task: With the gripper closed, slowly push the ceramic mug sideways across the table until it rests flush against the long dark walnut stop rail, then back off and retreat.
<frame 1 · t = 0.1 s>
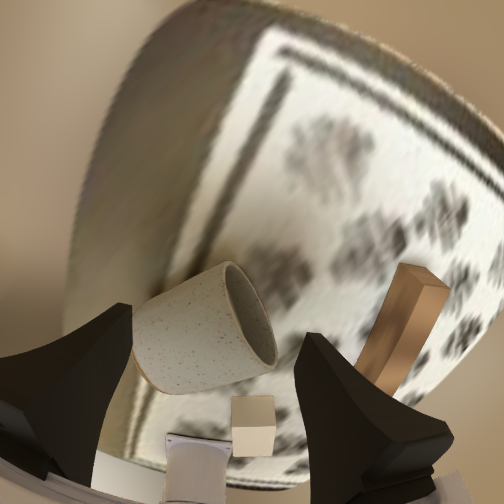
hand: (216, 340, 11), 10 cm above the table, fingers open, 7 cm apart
ceramic mug: (219, 315, 23), on the table
walnut rail: (363, 373, 26), on the table
beige rectangular block: (251, 412, 28), on the table
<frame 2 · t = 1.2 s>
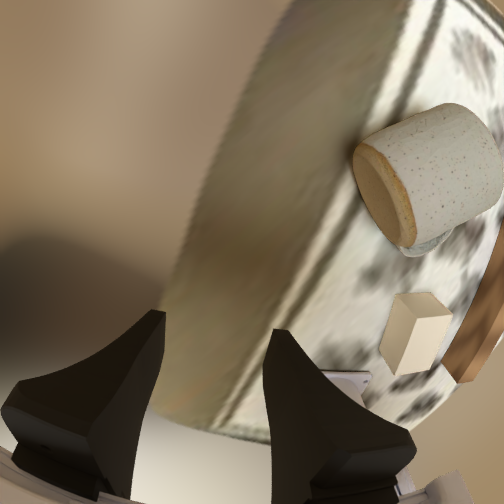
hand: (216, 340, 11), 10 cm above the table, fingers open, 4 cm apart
ceramic mug: (406, 182, 20), on the table
walnut rail: (494, 267, 23), on the table
beige rectangular block: (404, 321, 24), on the table
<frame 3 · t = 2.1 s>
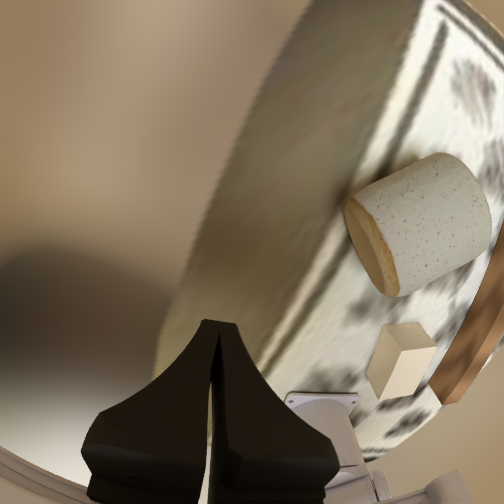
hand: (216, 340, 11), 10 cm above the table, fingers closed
ceramic mug: (397, 225, 21), on the table
walnut rail: (483, 296, 24), on the table
beige rectangular block: (391, 348, 25), on the table
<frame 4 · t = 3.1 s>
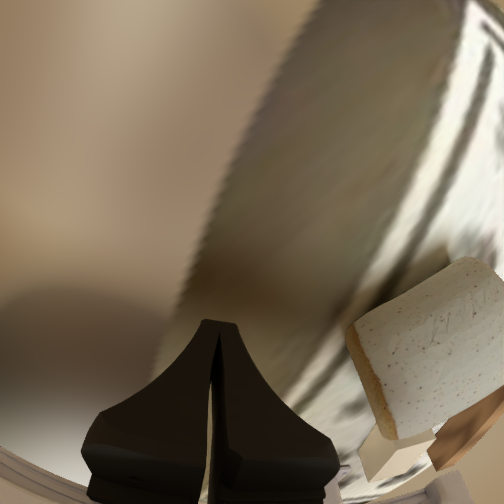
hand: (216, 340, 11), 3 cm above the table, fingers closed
ceramic mug: (409, 326, 16), on the table
walnut rail: (493, 368, 19), on the table
beige rectangular block: (387, 429, 21), on the table
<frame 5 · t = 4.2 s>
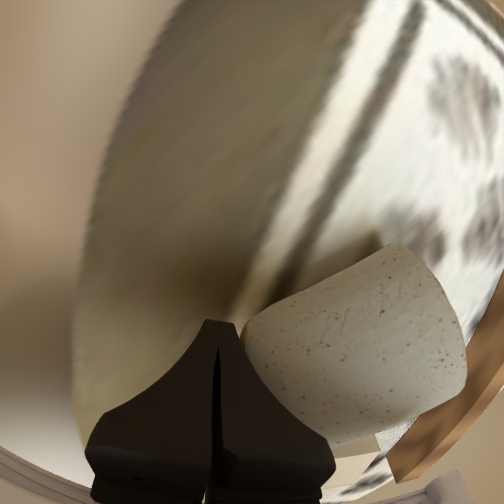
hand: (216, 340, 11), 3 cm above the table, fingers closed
ceramic mug: (341, 325, 16), on the table, touching gripper
walnut rail: (460, 373, 19), on the table
beige rectangular block: (331, 435, 20), on the table
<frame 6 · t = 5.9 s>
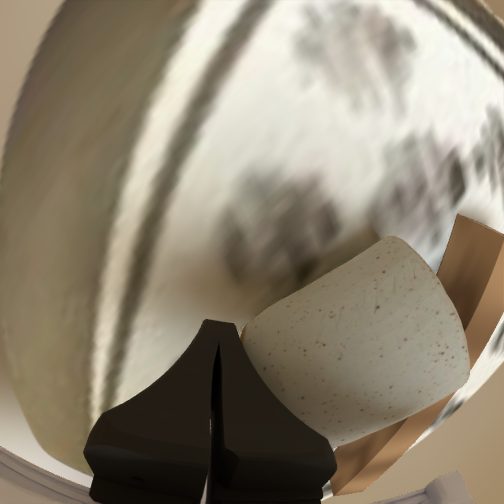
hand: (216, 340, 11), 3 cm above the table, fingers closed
ceramic mug: (344, 321, 16), on the table, touching gripper
walnut rail: (400, 378, 18), on the table
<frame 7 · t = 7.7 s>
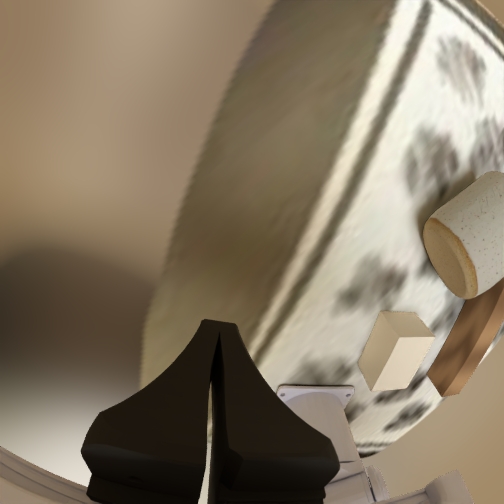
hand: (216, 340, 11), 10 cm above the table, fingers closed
ceramic mug: (457, 232, 21), on the table
walnut rail: (482, 282, 23), on the table
beige rectangular block: (385, 338, 25), on the table
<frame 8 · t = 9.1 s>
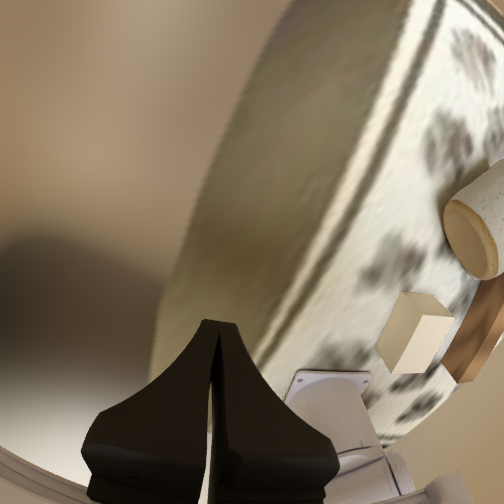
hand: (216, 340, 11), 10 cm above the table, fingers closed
ceramic mug: (473, 218, 21), on the table
walnut rail: (494, 267, 23), on the table
beige rectangular block: (404, 321, 24), on the table
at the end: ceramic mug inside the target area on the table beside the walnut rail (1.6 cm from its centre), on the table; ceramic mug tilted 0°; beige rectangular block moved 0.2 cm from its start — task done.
